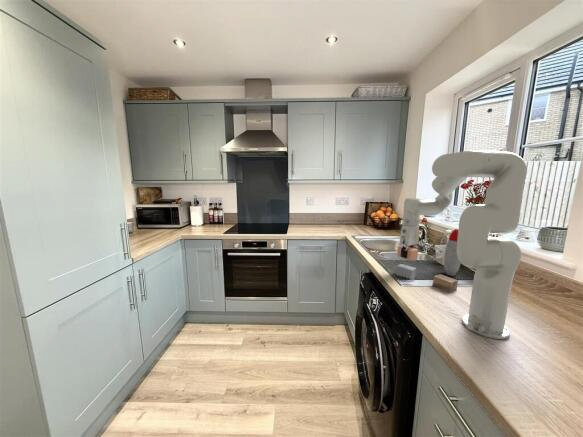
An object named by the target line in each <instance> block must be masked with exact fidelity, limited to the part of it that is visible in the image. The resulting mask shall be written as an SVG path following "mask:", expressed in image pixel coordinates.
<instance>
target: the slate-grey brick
mask: <svg viewBox="0 0 583 437" xmlns="http://www.w3.org/2000/svg"><path fill="white" fill-rule="evenodd" d="M395 269H396V270H395V275H396V276H399V277H402V276H403V277H402V278H405V277H406V279H408V278H409V279H408V280H413V279H415V278H416V276H417V267H413V266H410V265H407V264H403V263H400V264H397V265H396V268H395Z"/></svg>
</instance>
